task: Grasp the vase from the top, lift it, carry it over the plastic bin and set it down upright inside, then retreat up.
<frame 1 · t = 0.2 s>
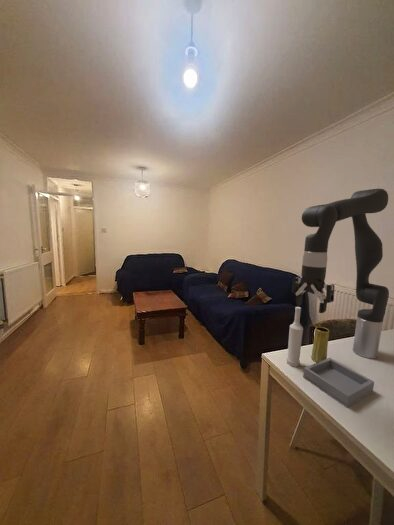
hand: (309, 308, 78), 28 cm above the table, tool pointing down, fingers open, 8 cm apart
vase: (318, 359, 96), on the table
bin: (336, 384, 81), on the table
bottle: (292, 363, 93), on the table
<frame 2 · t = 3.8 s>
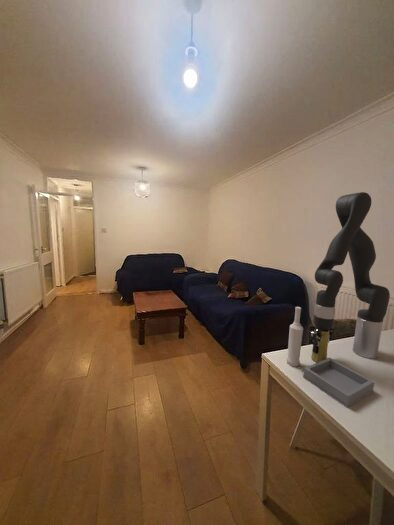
hand: (319, 351, 96), 4 cm above the table, tool pointing down, fingers closed on vase, 5 cm apart
vase: (318, 359, 96), on the table, touching gripper
everything else where it was.
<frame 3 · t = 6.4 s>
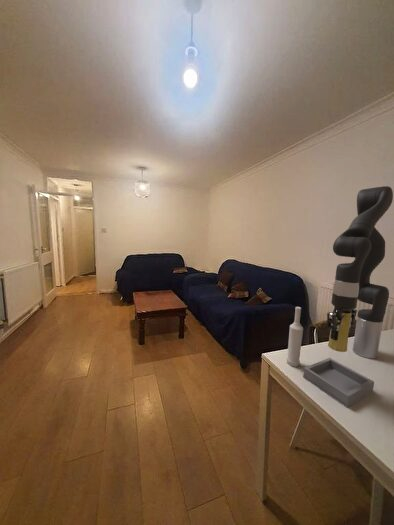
hand: (339, 337, 79), 18 cm above the table, tool pointing down, fingers closed on vase, 5 cm apart
vase: (337, 348, 80), point 14 cm above the table, touching gripper
everything else where it was.
when the fingers open (6 cm above the table, at t = 9.5 s): vase drops 1 cm, resting on bin.
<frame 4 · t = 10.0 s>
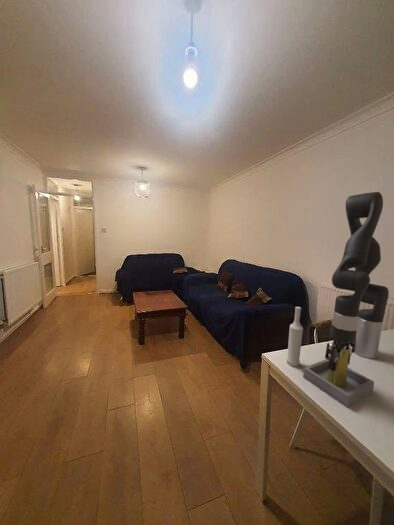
hand: (338, 366, 80), 7 cm above the table, tool pointing down, fingers open, 8 cm apart
vase: (336, 382, 81), point 1 cm above the table, touching bin
everything else where it was.
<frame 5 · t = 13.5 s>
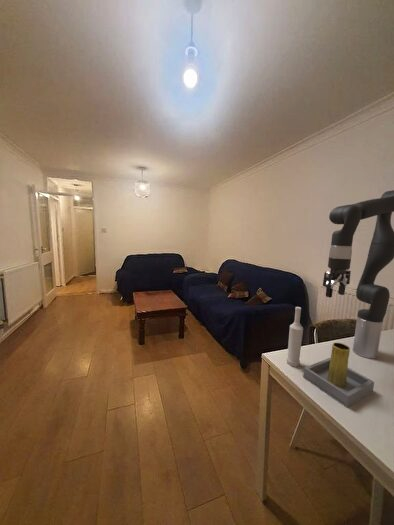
hand: (335, 295, 89), 30 cm above the table, tool pointing down, fingers open, 8 cm apart
nothing on the table moved.
at the end: vase inside the target area on the bin (0.1 cm from its centre), point 0.8 cm above the bin's base; vase tilted 0°; the gripper is holding nothing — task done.
